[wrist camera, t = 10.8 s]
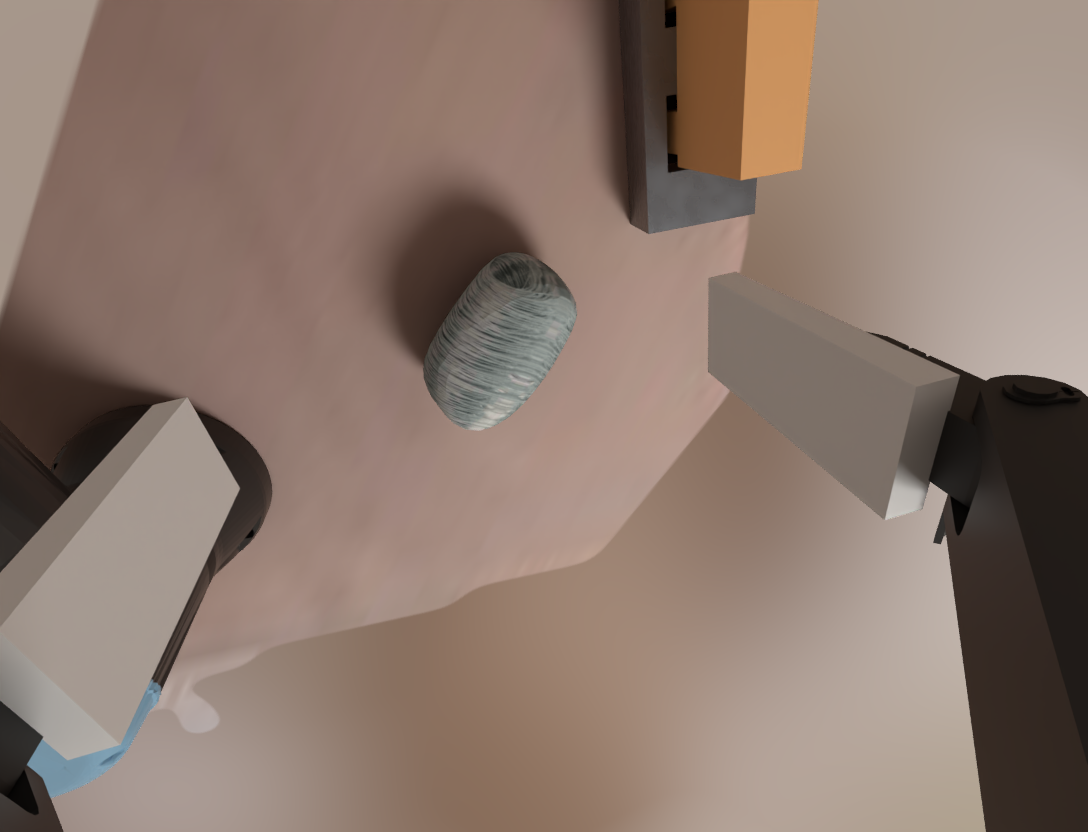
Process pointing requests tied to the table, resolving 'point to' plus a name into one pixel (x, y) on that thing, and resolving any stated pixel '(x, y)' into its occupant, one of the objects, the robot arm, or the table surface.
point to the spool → (499, 341)
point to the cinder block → (664, 133)
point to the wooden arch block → (741, 85)
